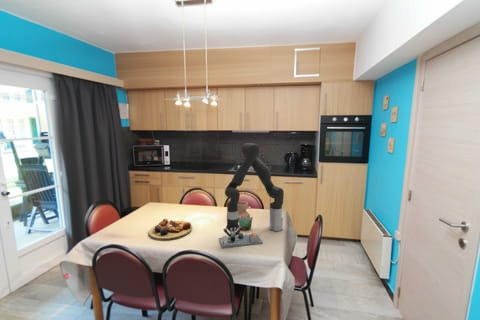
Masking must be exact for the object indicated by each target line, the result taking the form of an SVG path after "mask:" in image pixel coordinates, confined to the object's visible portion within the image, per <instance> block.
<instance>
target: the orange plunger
mask: <svg viewBox="0 0 480 320" xmlns="http://www.w3.org/2000/svg"><path fill="white" fill-rule="evenodd" d="M250 234H251V237H257V234H258V233H257V231H254V230H253V231H251V233H250Z"/></svg>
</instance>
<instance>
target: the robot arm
mask: <svg viewBox="0 0 480 320" xmlns="http://www.w3.org/2000/svg"><path fill="white" fill-rule="evenodd" d="M259 152H260V147H259V145H258V144H256V143H251V142H250V143H249V142H246V143H243V144H242V146H241V153H242V155H243V156H244V157H245V159H244V161H243V162H242V164H241V165H239V167H238V168H237V169H236V170H235V172H234V175H233V177H232V180H231V181H230V182H229V184H228V185H227V186H226V188H225V191H224V195H225V196H226V197H227V198H230V199H229V201H227V203H226V209H227V211H226V225H225V226H226V227H225V228H223V229H222V230H223V232H224V233H225V235H228V236H230V237H231V241H232V242H234V241H235V236H238V234H239V233H241V231H243V230H242V228H241V227H240V226H239V220H238V202H239V201H240V195H241V194H240V190H239V189H237V187H241V186H242V184H243V182H244V180H245V178H246V175H247V173H248V171H249V170H250V168H252V169H253V170H254V172H255V174H256V175H257V177H258V178H259V180H260V182H261V184H262V185H263V187H264V190H265V191H266V194H267V195H268V197H269V198H271V199H273V202H271V203H270V204H269V230H270V231H273V232H280V231H281V230H284V229H283V225H284V224H283V223H284V218H283V215H282V214H283V205H284V196H285V193H284V192H285V191H284V189H283V188H282V187H279V186H275V184H274V183H273V181H272V179H271V178H272V173H271V170H270V169H269V167H268V166H267V165H266V164H265V163H264V162H263V161H262V160H261V159H259V157H258V155H259ZM229 233H230V234H229Z"/></svg>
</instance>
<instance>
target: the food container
mask: <svg viewBox="0 0 480 320" xmlns="http://www.w3.org/2000/svg"><path fill="white" fill-rule="evenodd" d="M238 219H239V220H238V225H239V226H240V227H241V228H242V230H241V231H249V230H250V231H251V230H252V222H253V220H254V218H253V216H250V217H247V216H239V215H238Z"/></svg>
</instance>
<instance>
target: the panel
mask: <svg viewBox="0 0 480 320" xmlns="http://www.w3.org/2000/svg"><path fill="white" fill-rule="evenodd" d="M218 241H219V244H220V247H221V249H228V248H237V247H246V246H254V245H255V246H256V245H262V244H263V241H262V239H261V238H260V236H259V235H258V233H257V237H251V233H248V234H243V238H242V239H239V238H238V235H237V236H235V241H234V242H232V241H231V238H230V239H228V240H227V244H223V237H218Z"/></svg>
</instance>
